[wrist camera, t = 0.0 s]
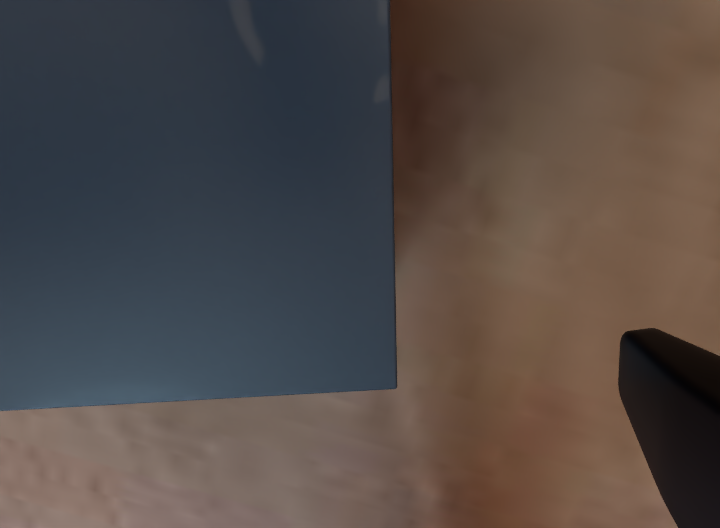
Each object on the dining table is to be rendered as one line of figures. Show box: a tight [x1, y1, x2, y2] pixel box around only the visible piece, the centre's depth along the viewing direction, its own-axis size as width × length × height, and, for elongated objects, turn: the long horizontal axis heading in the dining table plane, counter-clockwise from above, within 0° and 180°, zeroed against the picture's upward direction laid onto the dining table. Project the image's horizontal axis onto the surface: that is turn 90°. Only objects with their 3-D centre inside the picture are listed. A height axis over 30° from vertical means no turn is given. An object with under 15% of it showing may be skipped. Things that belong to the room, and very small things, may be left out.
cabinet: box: [0, 0, 397, 411], centre depth 20 cm, size 12×11×6 cm
